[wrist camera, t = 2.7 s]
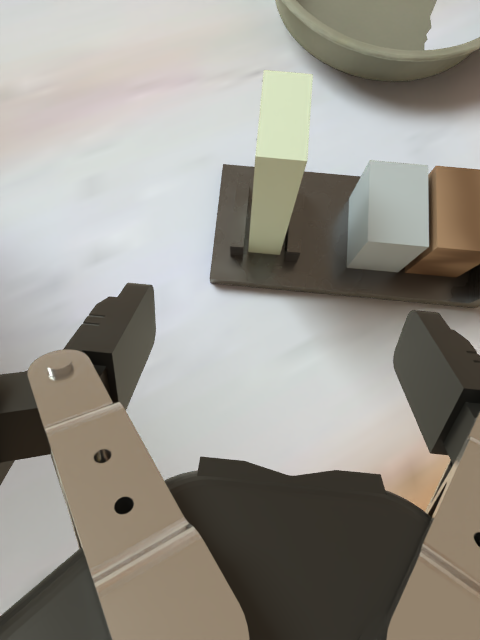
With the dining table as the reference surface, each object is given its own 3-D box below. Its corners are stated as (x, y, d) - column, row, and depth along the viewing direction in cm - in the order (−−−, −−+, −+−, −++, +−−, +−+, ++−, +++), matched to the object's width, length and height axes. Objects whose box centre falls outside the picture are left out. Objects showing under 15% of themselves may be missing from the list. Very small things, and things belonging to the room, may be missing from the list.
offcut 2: (404, 272, 30) (437, 247, 25) (405, 202, 32) (436, 165, 27) (456, 277, 30) (498, 252, 25) (454, 207, 31) (494, 171, 27)
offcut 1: (346, 267, 30) (367, 241, 25) (349, 198, 32) (369, 160, 27) (397, 272, 30) (429, 246, 25) (398, 202, 32) (428, 165, 27)
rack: (210, 283, 31) (206, 265, 27) (223, 171, 33) (221, 140, 29) (474, 307, 31) (509, 293, 27) (470, 193, 33) (501, 165, 29)
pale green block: (248, 252, 30) (255, 156, 19) (253, 194, 32) (263, 70, 20) (279, 254, 30) (307, 161, 19) (284, 197, 32) (312, 74, 20)
